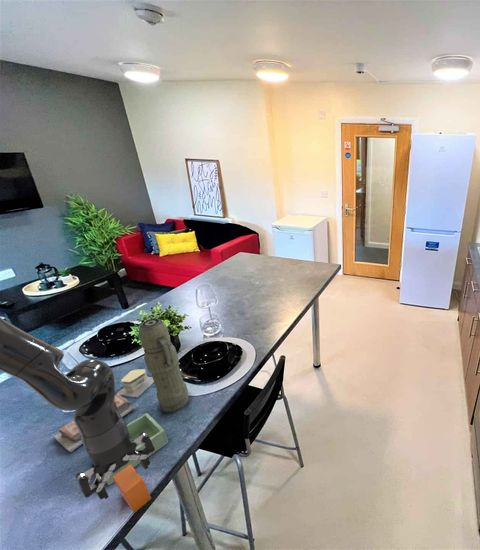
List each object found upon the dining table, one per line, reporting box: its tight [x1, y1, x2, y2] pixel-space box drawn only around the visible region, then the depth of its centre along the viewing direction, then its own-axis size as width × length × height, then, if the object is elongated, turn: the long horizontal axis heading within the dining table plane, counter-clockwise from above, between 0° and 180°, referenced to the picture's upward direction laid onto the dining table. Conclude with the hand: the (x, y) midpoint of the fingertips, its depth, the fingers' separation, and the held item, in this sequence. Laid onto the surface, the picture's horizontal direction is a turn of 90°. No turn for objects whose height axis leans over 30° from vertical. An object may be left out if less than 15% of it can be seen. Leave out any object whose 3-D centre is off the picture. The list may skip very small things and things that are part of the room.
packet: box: [113, 464, 152, 514], centre depth 76 cm, size 4×7×8 cm, turn 58°
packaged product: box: [53, 393, 135, 453], centre depth 96 cm, size 18×5×10 cm
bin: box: [105, 412, 169, 486], centre depth 88 cm, size 16×12×6 cm
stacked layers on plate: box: [116, 368, 154, 398], centre depth 111 cm, size 10×9×6 cm
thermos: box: [138, 318, 190, 413], centre depth 99 cm, size 9×12×35 cm
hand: (126, 480), depth 74 cm, fingers open, 8 cm apart
